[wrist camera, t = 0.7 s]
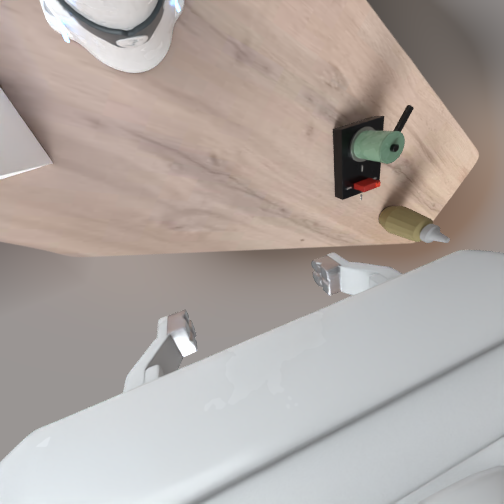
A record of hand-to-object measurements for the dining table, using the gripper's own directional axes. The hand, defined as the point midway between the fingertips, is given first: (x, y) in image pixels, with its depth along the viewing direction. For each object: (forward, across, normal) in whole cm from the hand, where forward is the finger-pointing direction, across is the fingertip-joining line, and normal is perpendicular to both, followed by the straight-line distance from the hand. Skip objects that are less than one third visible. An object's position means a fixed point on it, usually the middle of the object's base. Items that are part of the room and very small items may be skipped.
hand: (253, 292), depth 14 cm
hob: (+40, -38, +4) cm, 56 cm away
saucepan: (+36, -39, -1) cm, 54 cm away
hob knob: (+38, -39, +10) cm, 55 cm away
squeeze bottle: (+42, -51, +24) cm, 70 cm away
